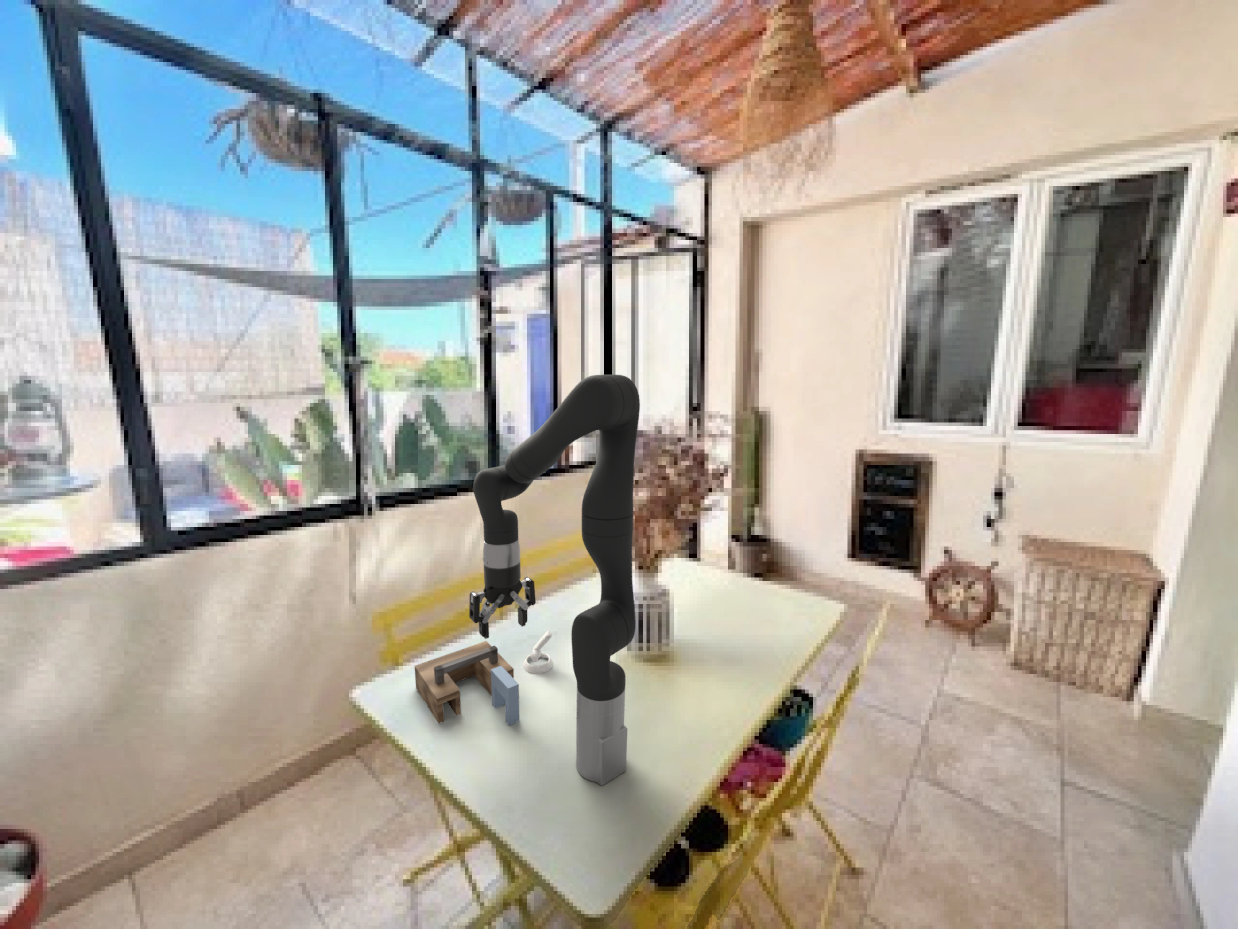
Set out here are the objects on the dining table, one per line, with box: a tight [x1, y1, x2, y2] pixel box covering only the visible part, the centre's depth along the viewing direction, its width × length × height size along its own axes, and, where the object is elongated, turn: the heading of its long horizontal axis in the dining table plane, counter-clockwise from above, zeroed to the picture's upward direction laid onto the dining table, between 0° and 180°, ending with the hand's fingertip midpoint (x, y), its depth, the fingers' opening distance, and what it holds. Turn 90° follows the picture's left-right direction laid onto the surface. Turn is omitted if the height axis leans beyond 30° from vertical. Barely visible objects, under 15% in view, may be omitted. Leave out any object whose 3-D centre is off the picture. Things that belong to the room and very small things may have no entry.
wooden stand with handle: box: [414, 640, 515, 725], centre depth 119 cm, size 15×18×10 cm
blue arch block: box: [491, 666, 520, 726], centre depth 112 cm, size 8×2×9 cm, turn 39°
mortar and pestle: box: [522, 630, 554, 675], centre depth 130 cm, size 8×12×7 cm
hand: (504, 630), depth 109 cm, fingers open, 8 cm apart
